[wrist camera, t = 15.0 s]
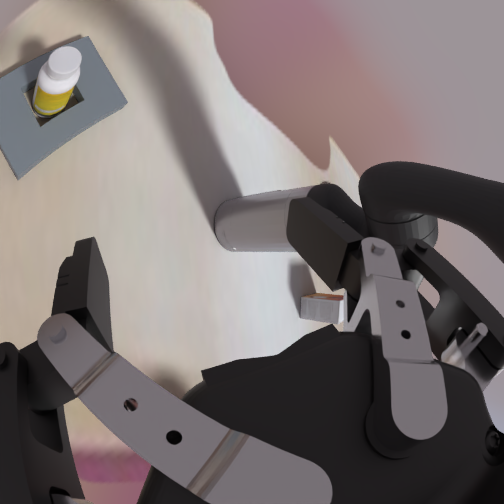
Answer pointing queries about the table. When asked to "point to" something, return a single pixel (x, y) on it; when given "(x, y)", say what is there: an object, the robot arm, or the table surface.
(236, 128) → the table surface
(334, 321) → the small box
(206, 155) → the table surface
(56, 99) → the supplement bottle
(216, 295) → the table surface
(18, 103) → the hole board
